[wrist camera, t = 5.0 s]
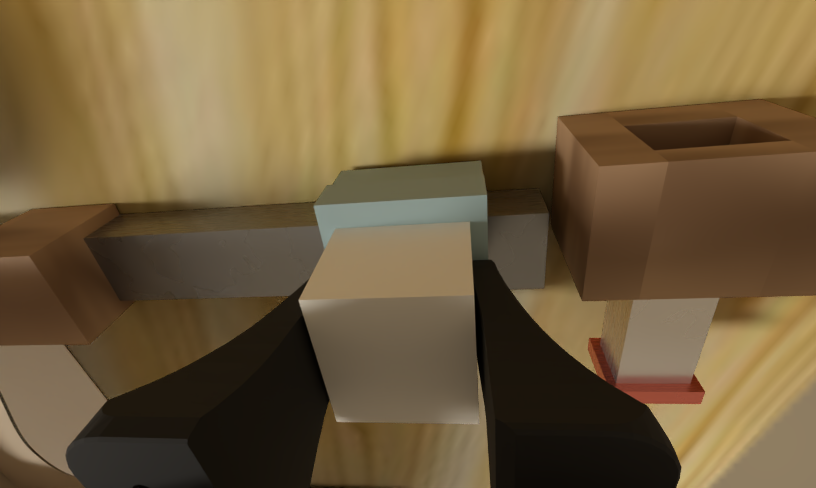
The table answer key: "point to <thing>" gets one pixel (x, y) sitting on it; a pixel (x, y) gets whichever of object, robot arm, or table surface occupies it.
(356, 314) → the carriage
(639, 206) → the cabinet near
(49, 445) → the gable box
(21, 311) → the brown cube
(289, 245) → the rail
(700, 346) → the drawer
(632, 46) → the table surface
